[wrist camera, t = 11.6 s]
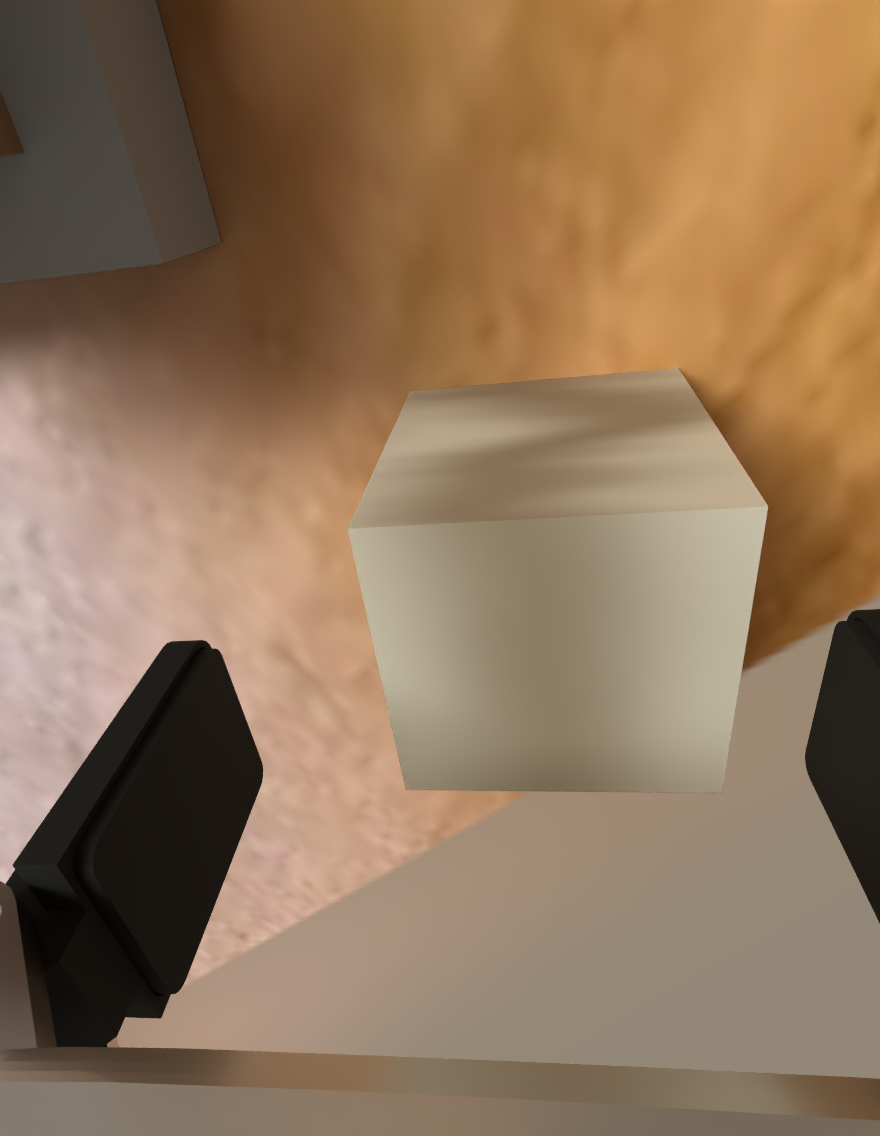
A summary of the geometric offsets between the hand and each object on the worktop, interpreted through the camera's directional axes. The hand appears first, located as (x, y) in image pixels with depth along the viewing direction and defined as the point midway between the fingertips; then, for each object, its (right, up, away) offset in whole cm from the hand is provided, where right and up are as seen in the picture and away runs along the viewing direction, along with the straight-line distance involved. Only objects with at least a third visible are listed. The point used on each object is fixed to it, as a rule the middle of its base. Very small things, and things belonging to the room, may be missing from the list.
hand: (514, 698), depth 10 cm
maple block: (+1, +4, +5) cm, 6 cm away
